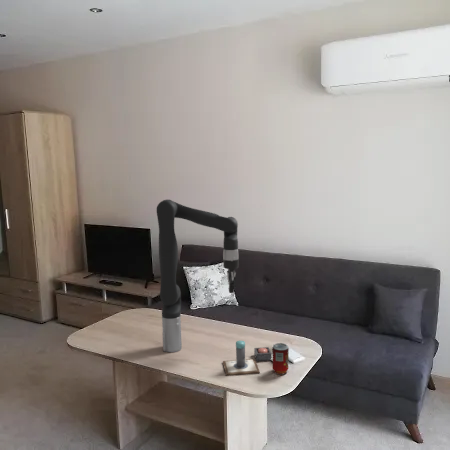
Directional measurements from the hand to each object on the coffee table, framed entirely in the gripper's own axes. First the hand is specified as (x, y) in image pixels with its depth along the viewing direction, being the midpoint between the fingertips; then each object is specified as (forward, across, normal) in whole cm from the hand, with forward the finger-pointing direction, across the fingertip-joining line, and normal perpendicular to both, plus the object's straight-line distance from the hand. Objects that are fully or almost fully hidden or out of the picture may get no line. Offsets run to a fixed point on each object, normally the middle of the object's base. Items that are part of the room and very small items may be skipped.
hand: (231, 292), depth 221 cm
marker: (+28, +22, +1) cm, 35 cm away
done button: (+28, +13, +13) cm, 33 cm away
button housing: (+29, +13, +13) cm, 34 cm away
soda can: (+29, +28, +18) cm, 44 cm away
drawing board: (+29, +22, +1) cm, 36 cm away
